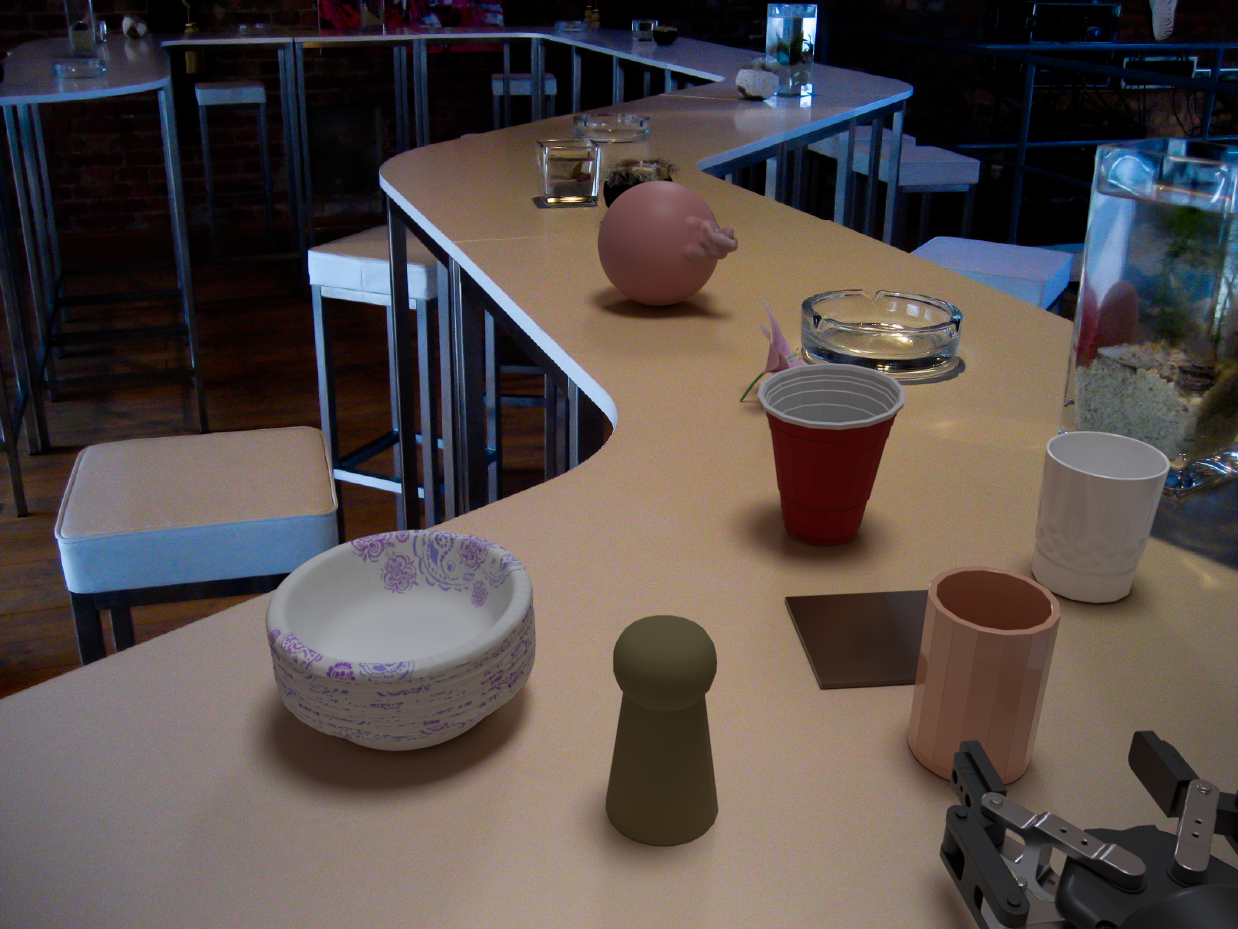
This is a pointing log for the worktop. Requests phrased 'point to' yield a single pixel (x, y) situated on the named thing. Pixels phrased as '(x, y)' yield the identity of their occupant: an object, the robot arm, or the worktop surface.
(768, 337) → the lily
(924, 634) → the peach cup
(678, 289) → the balloon
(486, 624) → the paper bowls
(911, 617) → the walnut mat
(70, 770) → the worktop surface
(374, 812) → the worktop surface
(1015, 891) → the robot arm
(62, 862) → the worktop surface
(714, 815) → the olive peg doll
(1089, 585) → the white cup
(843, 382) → the plastic cup
